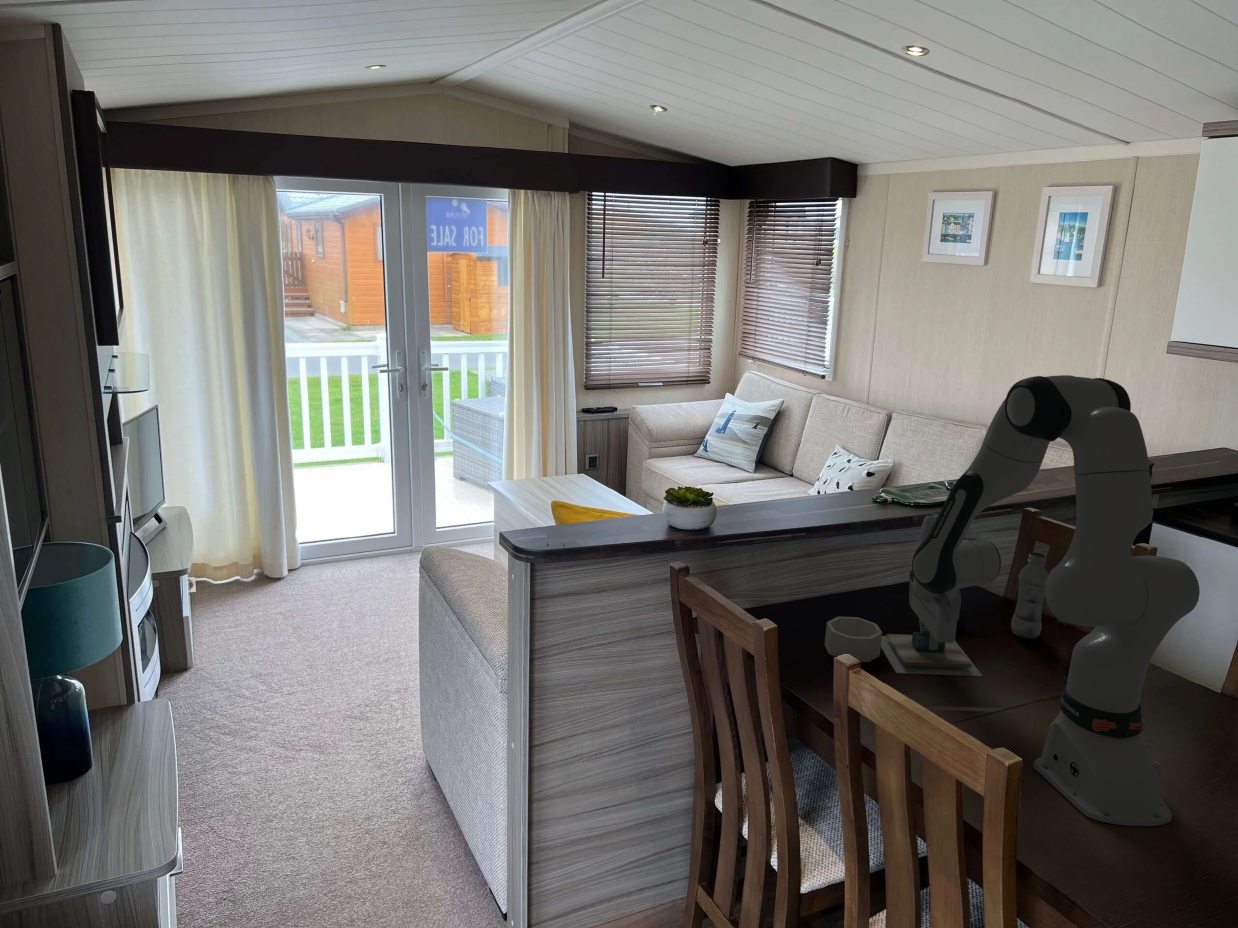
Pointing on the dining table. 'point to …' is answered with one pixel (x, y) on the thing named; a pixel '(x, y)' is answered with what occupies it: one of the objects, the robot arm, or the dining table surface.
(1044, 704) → the dining table surface
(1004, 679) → the dining table surface
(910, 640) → the board
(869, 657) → the bowl
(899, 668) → the mat
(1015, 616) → the plastic bottle
